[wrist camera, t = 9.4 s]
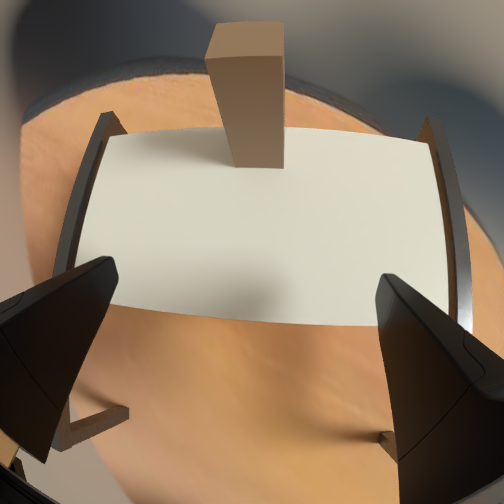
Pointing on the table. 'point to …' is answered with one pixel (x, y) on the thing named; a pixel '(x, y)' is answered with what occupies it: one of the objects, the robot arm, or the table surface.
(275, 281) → the sliding cover
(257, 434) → the table surface
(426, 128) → the cover frame
